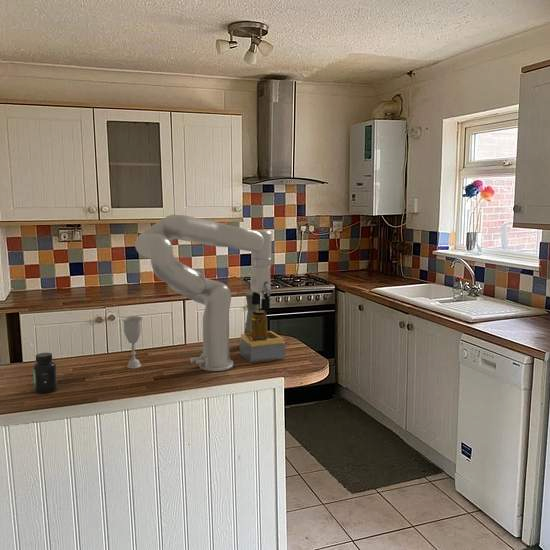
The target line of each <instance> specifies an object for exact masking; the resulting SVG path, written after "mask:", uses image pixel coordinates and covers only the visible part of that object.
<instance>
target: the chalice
mask: <svg viewBox="0 0 550 550" xmlns="http://www.w3.org/2000/svg"><path fill="white" fill-rule="evenodd" d="M121 320H122V322H123V332H124V336H125V338H126V339H127V341H128V343H130V344H131V348H130V349H131V353H130V354H131V359H129V361H128V363H127V365H126V367H127V369H137V368H141V366H142V365H141V362H140V360H139V359H138V358H136V354H137V353H136V351H135V350H136V349H137V348H136V347H135V345H136V343H137V342H138V341H139V339H140V336H141V334H142V320H143V317H141V316H137V315H135V316H132V315H131V316H130V315H129V316H125V317H122V319H121Z"/></svg>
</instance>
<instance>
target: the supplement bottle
mask: <svg viewBox="0 0 550 550" xmlns="http://www.w3.org/2000/svg"><path fill="white" fill-rule="evenodd" d="M32 371H33V373H32V374H33V388H34V392H35V393H36V394H39V395H47V394H50V393H53V392H56V391H57V390H58V376H57V363H56V362H55V361H53V354H52V353H51V352H40V353H37V354H36V355H35V363H34V364H33V366H32Z"/></svg>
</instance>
